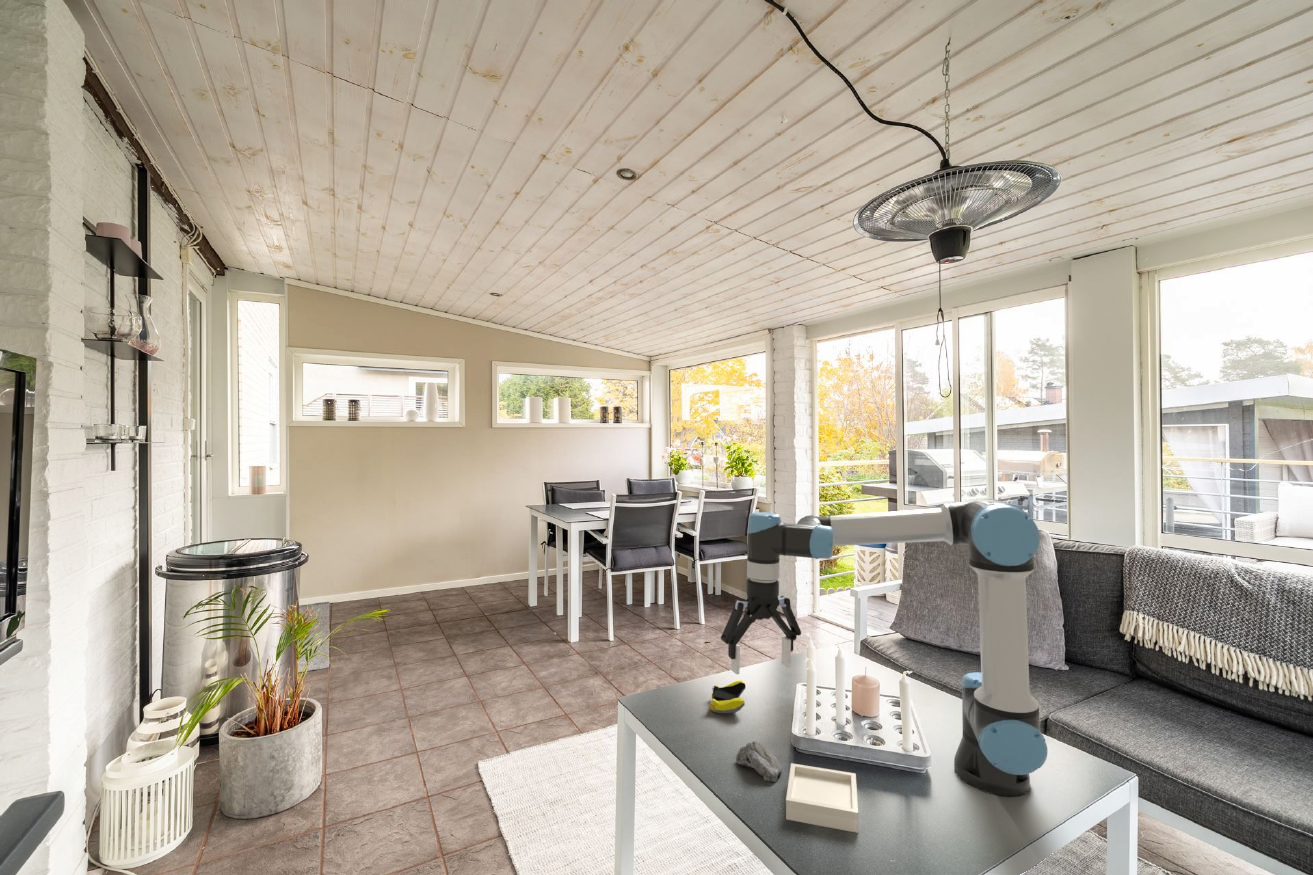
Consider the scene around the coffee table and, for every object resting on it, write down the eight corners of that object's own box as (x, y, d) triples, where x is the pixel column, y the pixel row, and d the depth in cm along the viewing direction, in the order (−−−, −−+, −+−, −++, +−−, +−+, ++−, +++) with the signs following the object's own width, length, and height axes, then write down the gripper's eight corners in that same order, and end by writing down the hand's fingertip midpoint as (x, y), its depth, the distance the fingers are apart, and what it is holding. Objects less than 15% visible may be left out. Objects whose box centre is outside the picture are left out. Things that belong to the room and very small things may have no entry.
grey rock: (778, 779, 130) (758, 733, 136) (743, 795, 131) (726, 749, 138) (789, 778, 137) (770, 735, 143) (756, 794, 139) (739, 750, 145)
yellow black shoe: (745, 697, 175) (712, 694, 177) (745, 678, 175) (712, 676, 177) (744, 721, 161) (708, 718, 162) (744, 701, 161) (708, 698, 162)
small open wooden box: (855, 791, 128) (855, 773, 128) (858, 832, 115) (858, 812, 115) (791, 780, 132) (791, 763, 132) (786, 819, 119) (786, 799, 119)
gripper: (799, 571, 144) (797, 656, 144) (707, 578, 136) (706, 668, 136) (817, 579, 137) (815, 668, 137) (722, 586, 129) (720, 681, 129)
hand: (760, 668), depth 137 cm, fingers open, 13 cm apart
